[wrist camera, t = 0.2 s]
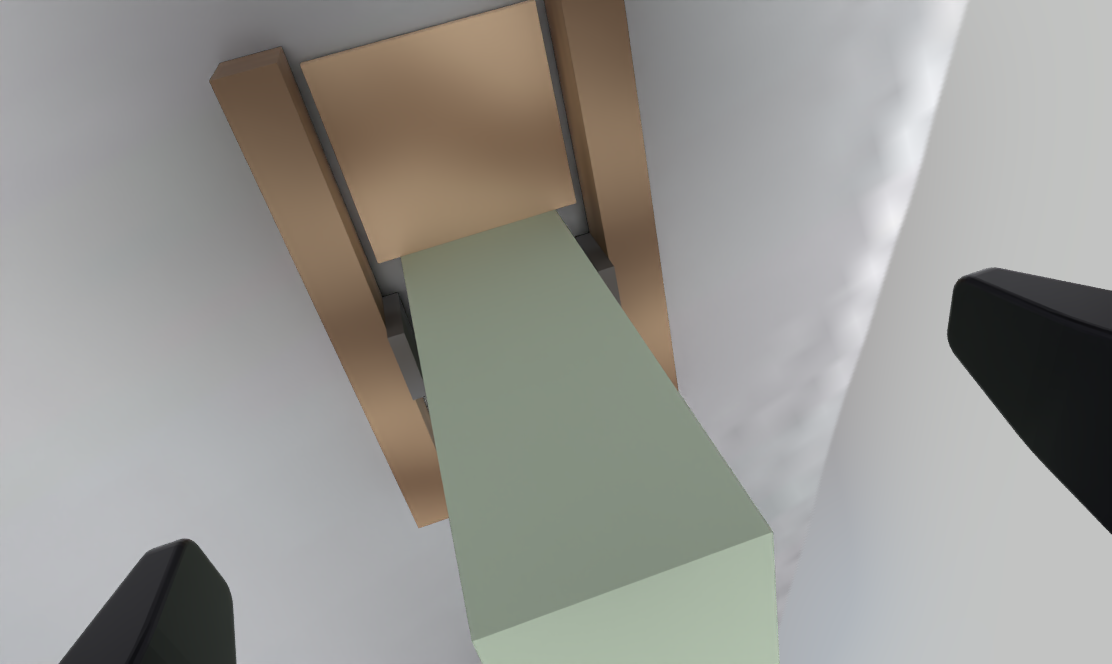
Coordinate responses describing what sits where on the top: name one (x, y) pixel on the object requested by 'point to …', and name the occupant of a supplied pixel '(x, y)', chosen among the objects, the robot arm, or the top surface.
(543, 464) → the sage block
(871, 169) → the top surface
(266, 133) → the wooden leg stand
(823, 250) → the top surface
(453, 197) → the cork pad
